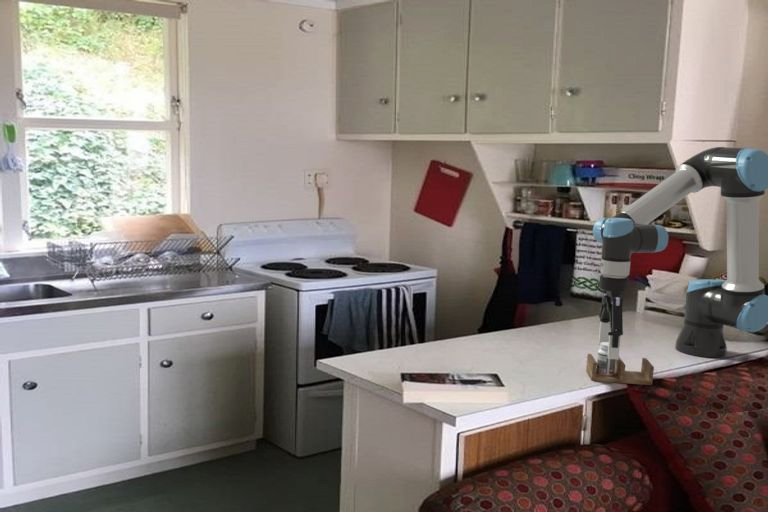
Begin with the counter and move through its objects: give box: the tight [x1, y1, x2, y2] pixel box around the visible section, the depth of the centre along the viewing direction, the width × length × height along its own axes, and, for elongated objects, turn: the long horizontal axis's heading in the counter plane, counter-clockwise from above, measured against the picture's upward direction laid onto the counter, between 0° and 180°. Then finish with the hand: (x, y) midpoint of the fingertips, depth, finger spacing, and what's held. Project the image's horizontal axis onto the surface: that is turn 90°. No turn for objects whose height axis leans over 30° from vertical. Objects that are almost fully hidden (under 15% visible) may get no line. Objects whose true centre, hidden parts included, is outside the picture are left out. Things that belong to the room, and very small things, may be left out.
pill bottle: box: [596, 342, 615, 376], centre depth 221 cm, size 5×5×8 cm
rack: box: [585, 353, 655, 386], centre depth 222 cm, size 16×9×5 cm, turn 85°
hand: (608, 352), depth 221 cm, fingers open, 13 cm apart
